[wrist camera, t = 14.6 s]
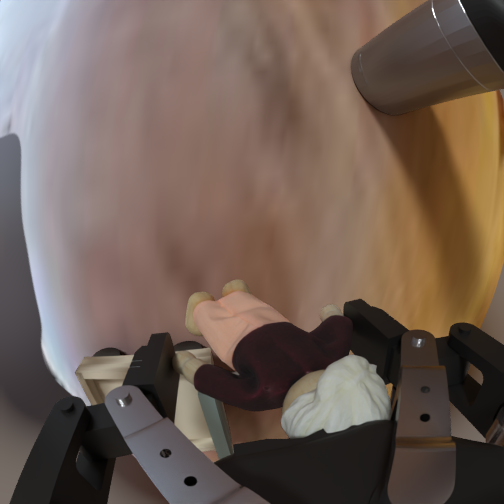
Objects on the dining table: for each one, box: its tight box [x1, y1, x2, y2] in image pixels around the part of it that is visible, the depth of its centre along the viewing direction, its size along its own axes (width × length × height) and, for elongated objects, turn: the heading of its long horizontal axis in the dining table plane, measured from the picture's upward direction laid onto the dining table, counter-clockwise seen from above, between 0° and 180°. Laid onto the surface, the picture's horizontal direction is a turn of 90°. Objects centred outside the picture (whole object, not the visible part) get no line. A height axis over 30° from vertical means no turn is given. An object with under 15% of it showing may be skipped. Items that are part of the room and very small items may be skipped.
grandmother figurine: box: [172, 280, 392, 439], centre depth 11 cm, size 8×4×13 cm, turn 112°
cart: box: [75, 341, 234, 460], centre depth 24 cm, size 14×13×9 cm
